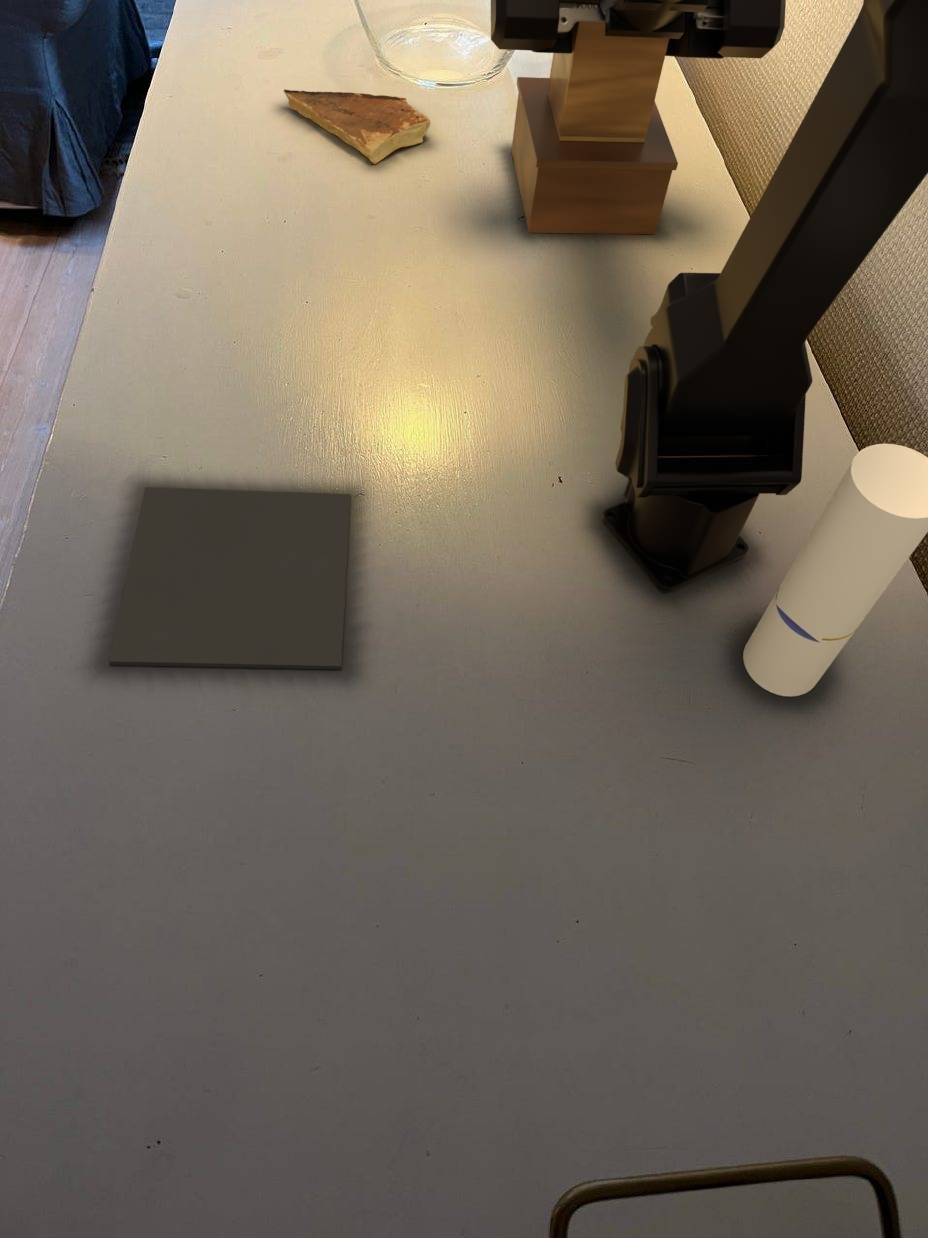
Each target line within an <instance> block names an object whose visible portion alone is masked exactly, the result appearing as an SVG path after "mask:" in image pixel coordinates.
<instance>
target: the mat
mask: <svg viewBox="0 0 928 1238" xmlns="http://www.w3.org/2000/svg"><path fill="white" fill-rule="evenodd" d="M141 500H142V501H141V505H140V510H139V514H138V520H137V524H136V529H135V534H134V539H133V544H132V548H131V552H130V558H129V562H128V568H127V572H126V577H125V582H124V587H123V590H122V596H121V601H120V606H119V611H118V615H117V620H116V623H115V624H116V625H115V629H114V633H113V639H112V644H111V650H110V653H109V658H108V663H109V665H110V666H140V667H141V666H142V667H143V666H144V667H188V668H189V667H197V668H198V667H199V668H238V669H239V668H243V669H244V668H246V669H291V670H292V669H293V670H294V669H295V670H297V669H299V670H342V669H343V658H344V657H343V654H344V638H345V637H344V635H345V621H346V620H345V617H346V600H347V581H348V580H347V579H348V563H349V562H348V561H349V542H350V526H351V525H350V522H351V506H352V505H351V504H352V494H351V493H332V492H331V493H329V492H304V491H303V492H301V491H297V492H296V491H270V490H268V491H267V490H242V489H241V490H240V489H211V488H184V487H183V488H182V487H181V488H180V487H179V488H178V487H151V486H145V487H144V491H143V495H142V499H141Z"/></svg>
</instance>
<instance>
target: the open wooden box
mask: <svg viewBox="0 0 928 1238" xmlns="http://www.w3.org/2000/svg"><path fill="white" fill-rule="evenodd" d="M576 5H577V8H578V7H579V4H576ZM584 7H585V5H583V8H584ZM589 8H591V5H589ZM595 8H597V5H595ZM668 42H669V38H645V37H618V36H605V23H583V22H576V23H575V24H574V25H573V27H572V53H571V54H565V53H552V59H551V66H550V74H549V78H550V79H549V86H548V93H547V95H548V98H549V102H550V106H551V110H552V114H553V117H554V121H555V125H556V129H557V133H558V136H559V140H560V141H596V142H639V143H644V142H645V139H646V135H647V130H648V126H649V122H650V118H651V114H652V109H653V105H654V101H655V102H656V96H657V92H658V88H659V84H660V79H661V75H662V71H663V67H664V62H665V58H666V56H665V55H666V50H667V46H668Z"/></svg>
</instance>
